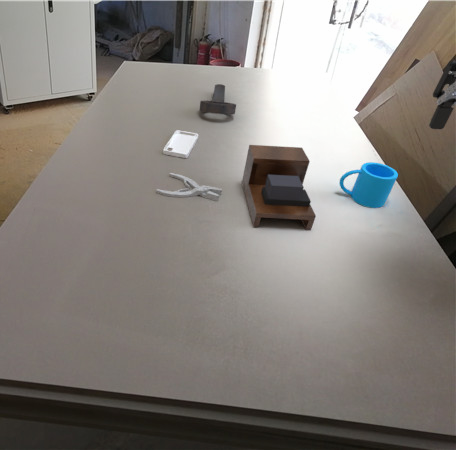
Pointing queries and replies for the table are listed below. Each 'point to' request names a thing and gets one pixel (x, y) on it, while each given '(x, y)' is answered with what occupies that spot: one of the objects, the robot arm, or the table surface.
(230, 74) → the table surface
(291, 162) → the wooden chair model
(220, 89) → the dark gray mallet
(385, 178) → the mug
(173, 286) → the table surface
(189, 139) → the phone case
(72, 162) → the table surface
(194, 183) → the pliers
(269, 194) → the dark block
